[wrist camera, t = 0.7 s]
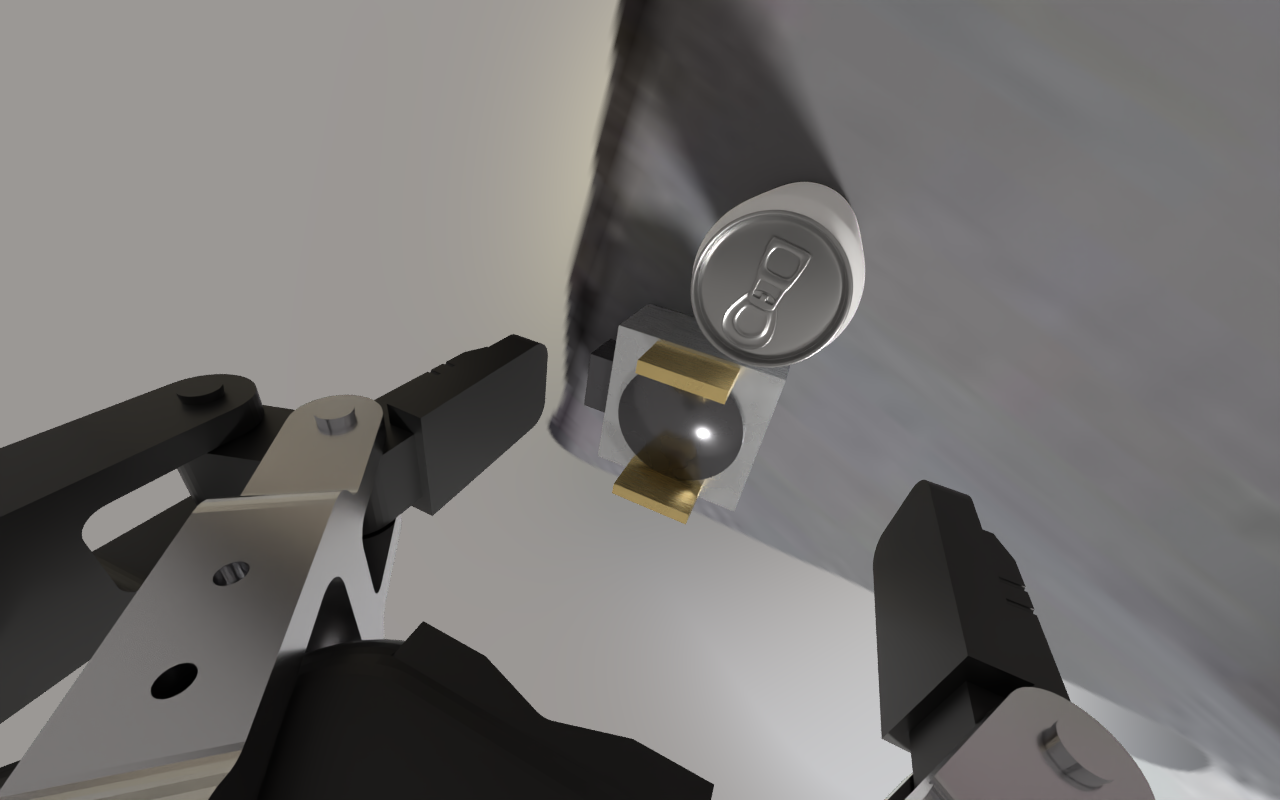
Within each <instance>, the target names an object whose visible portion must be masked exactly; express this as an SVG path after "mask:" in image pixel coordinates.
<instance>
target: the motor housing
mask: <svg viewBox="0 0 1280 800" xmlns="http://www.w3.org/2000/svg"><path fill="white" fill-rule="evenodd" d="M789 367H790V365H788V366H783V367H774V368H764V367H755V366H750V365H746V364H743V363H740V362H738V361H735V360H733V359H731V358H730V357H728V356H726V355H725V354H723V353H722V352H720V351H719V350H718V349H717V348H716V347H714V346H713V345H712V344H711V343H710V341H709V340H708V339H707V338H706V337H705V335H704V334H703V332H702V331H701V329H700V327H699V325H698V323H697V321H696V318H695V317H692V316H688V315H685V314H682V313H679V312H675V311H672V310H669V309H666V308H663V307H659V306H656V305H653V304H650V303H649V304H647V305H646V306H645V307H643V308H642V309H641V310H639V311H638V312H636V313H635V314H634V315H632V316H631V317H630V318H628V319H627V320H625V321H624V322H623V323H621V324H620V325H619V328H618V334H617V340H616V341H615V340H612V339H610V340H608V341H607V342H606V343H605V344H603V345H602V346H601V347H599V348H598V349H597V350H595V351H594V352H593V353H591V357H590V364H589V372H588V380H587V387H586V395H585V403H584V405H586V406H589V407H591V408H594V409H597V410H599V411H602V412H605V415H604V421H603V428H602V434H601V440H600V446H599V453H598V456H599V457H602V458H604V459H607V460H609V461H612V462H614V463H617V464H619V465H621V466H624V467H626V468H625V469H624V470H623V472H622V473H621V475H620V476H619V477H618V479H617V480H616V482H615V483H614V486H613V492H612V493H613V494H616V495H618V496H620V497H623V498H625V499H627V500H630V501H632V502H634V503H637V504H639V505H642V506H644V507H646V508H649V509H651V510H653V511H656V512H658V513H660V514H663V515H665V516H667V517H670V518H672V519H674V520H677V521H679V522H681V523H684V524H686V523H687V520H688V518H689V516H690V514H691V511H692V509H693V507H694V505H695V502H696V500H697V498H698V497H700V498H702V499H705V500H707V501H709V502H712V503H714V504H717V505H719V506H722V507H724V508H727V509H729V510H731V511H735V508H736V506H737V503H738V501H739V498H740V496H741V493H742V490H743V488H744V485H745V483H746V480H747V478H748V475H749V473H750V470H751V468H752V465H753V463H754V460H755V458H756V455H757V452H758V450H759V447H760V445H761V442H762V440H763V437H764V435H765V432H766V430H767V427H768V425H769V422H770V419H771V417H772V414H773V412H774V409H775V407H776V404H777V402H778V399H779V397H780V394H781V392H782V389H783V387H784V384H785V381H786V378H787V375H788V371H789Z"/></svg>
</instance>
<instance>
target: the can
mask: <svg viewBox="0 0 1280 800" xmlns="http://www.w3.org/2000/svg"><path fill="white" fill-rule="evenodd" d="M864 282H865V261H864V253H863V247H862V241H861V235H860V230H859V226H858V222H857V219H856V216H855V214H854V212H853V210H852V208H851V206H850V205H849V203H848V202H847V201H846V200H845V199H844V198H843V197H842V196H841V195H840V194H839V193H838V192H836V191H835V190H833V189H831V188H829V187H827V186H825V185H822V184H818V183H813V182H796V183H790V184H786V185H783V186H780V187H777V188H775V189H772V190H770V191H767V192H765V193H762V194H760V195H758V196H755V197H753V198H751V199H749V200H747V201H745V202H743V203H741V204H739V205H737V206H736V207H734V208H733V209H731V210H730V211H728V212H727V213H726V214H725V215H724V216H722V217H721V218H720V219H719V220H718V221H717V222H716V223H715V225H714V226H713V227H712V228H711V229H710V231H709V232H708V233H707V235H706V236H705V238H704V240H703V241H702V243H701V245H700V247H699V250H698V252H697V255H696V258H695V262H694V266H693V272H692V279H691V304H692V309H693V313H694V316H695V318H696V321H697V323H698V325H699V327H700V329H701V331H702V332H703V334H704V335H705V337H706V338H707V339H708V340H709V341H710V343H711V344H712V345H713V346H714V347H716V348H717V349H718V350H719V351H720V352H722V353H723V354H725V355H726V356H728V357H730V358H731V359H733V360H735V361H738V362H740V363H743V364H746V365H750V366H755V367H764V368H774V367H783V366H788V365H792V364H795V363H798V362H801V361H803V360H805V359H807V358H809V357H811V356H813V355H814V354H816V353H817V352H819V351H820V350H821V349H823V348H824V347H826V346H827V345H828V344H830V343H831V342H832V341H833V340H834V339H836V338H837V337H838V336H839V335H840V334H841V333H842V331H843V330H844V329H845V328H846V327H847V325H848V324H849V322H850V321H851V319H852V318H853V316H854V314H855V312H856V310H857V308H858V305H859V303H860V300H861V297H862V293H863V288H864Z"/></svg>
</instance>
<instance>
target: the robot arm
mask: <svg viewBox="0 0 1280 800" xmlns="http://www.w3.org/2000/svg"><path fill="white" fill-rule="evenodd" d="M547 358H548V353H547V348H546V347H545V345H543V344H541V343H538V342H535V341H532V340H530V339H527V338H524V337H521V336H518V335H514V334H513V335H510V336H508V337H506V338H504V339H502V340H500V341H499V342H497V343H495V344H493V345H491V346H490V347H484V348H480V349H476V350H472V351H468V352H464V353H462V354H460V355H458V356H456V357H454V358H453V359H451V360H449V361H447V362H446V364H441V365H439V366H438V367H436V368H434V369H432V370H431V372H430V373H429V372H427V373H424V374H423V375H421V376H419V377H417V378H415V379H413V380H411V381H409V382H407V383H406V384H404V385H402V386H400V387H398V388H396V389H394V390H392V391H391V392H389V393H387V394H385V395H383V396H381V397H380V398H377V399H376V400H372V399H370V398H367V397H363V396H356V395H336V396H329V397H324V398H321V399H317V400H314V401H311V402H309V403H306V404H304V405H302V406H300V407H299V408H298V409H296V410H292V409H285V408H279V407H272V406H266V405H262V403H261V400H260V397H259V394H258V391H257V388H256V386H255V384H254V382H252V381H251V380H249V379H247V378H245V377H242V376H237V375H228V374H214V375H204V376H197V377H193V378H188V379H184V380H181V381H178V382H175V383H172V384H169V385H166V386H164V387H161V388H159V389H156V390H153V391H151V392H148V393H145V394H143V395H140V396H137V397H135V398H132V399H129V400H127V401H124V402H122V403H119V404H116V405H114V406H111V407H108V408H106V409H103V410H100V411H98V412H95V413H92V414H90V415H87V416H85V417H82V418H79V419H76V420H74V421H71V422H69V423H66V424H63V425H61V426H58V427H55V428H53V429H50V430H47V431H45V432H42V433H39V434H37V435H34V436H32V437H29V438H26V439H24V440H21V441H19V442H16V443H13V444H10V445H8V446H5V447H3V448H0V724H1V723H2V722H4V721H5V720H6V719H8V718H9V717H11V716H12V715H13V714H15V713H16V712H18V711H19V710H20V709H22V708H23V707H25V706H26V705H27V704H29V703H30V702H32V701H33V700H34V699H36V698H37V697H38V696H40V695H41V694H43V693H44V692H46V691H47V690H48V689H50V688H51V687H52V686H54V685H55V684H57V683H58V682H59V681H61V680H62V679H64V678H65V677H67V676H68V675H69V674H71V673H72V672H73V671H75V670H76V669H77V668H79V667H81V666H82V665H83V664H85V663H86V662H87V661H89V660H90V661H89V662H88V664H87V665H86V667H85V668H84V669H83V671H82V673H81V674H80V675H79V677H78V678H77V680H76V681H75V683H74V684H73V685H72V687H71V688H70V690H69V691H68V693H67V694H66V695H65V697H64V698H63V700H62V701H61V703H60V704H59V706H58V707H57V709H56V710H55V711H54V713H53V714H52V716H51V717H50V719H49V720H48V721H47V723H46V725H45V726H44V727H43V729H42V730H41V732H40V733H39V735H38V736H37V737H36V739H35V740H34V742H33V743H32V745H31V746H30V747H29V749H28V750H27V752H26V753H25V755H24V756H23V758H22V759H21V760H20V761H17V762H14V763H12V764H9V765H6V766H4V767H1V768H0V800H711V797H712V792H713V787H714V784H712V783H710V782H708V781H707V780H705V779H703V778H701V777H699V776H698V775H696V774H694V773H692V772H690V771H689V770H687V769H685V768H683V767H682V766H680V765H678V764H676V763H675V762H673V761H671V760H669V759H667V758H666V757H664V756H662V755H660V754H659V753H657V752H655V751H653V750H651V749H649V748H648V747H646V746H644V745H642V744H641V743H639V742H637V741H635V740H634V739H630V738H626V737H621V736H617V735H613V734H608V733H603V732H599V731H595V730H590V729H586V728H582V727H577V726H573V725H568V724H564V723H559V722H554V721H551V720H548V719H546V718H544V717H543V716H541V715H540V714H539V713H538V712H536V710H535V709H534V708H533V707H532V706H531V705H530V704H529V703H528V702H527V701H526V700H525V698H524V697H523V696H522V695H521V694H520V693H519V692H518V691H517V690H516V689H515V688H514V686H513V685H512V684H511V683H510V682H509V681H508V680H507V679H506V678H505V677H504V676H503V675H502V674H501V672H500V671H499V670H498V669H497V668H496V667H495V666H494V665H493V664H492V663H491V662H490V661H489V660H488V658H487V657H486V656H484V655H482V654H480V653H479V652H477V651H475V650H473V649H471V648H470V647H468V646H466V645H465V644H462V643H461V642H459V641H457V640H456V639H454V638H452V637H450V636H449V635H447V634H445V633H443V632H441V631H440V630H438V629H436V628H434V627H432V626H431V625H429V624H427V623H425V622H422V623H421V624H420V625H419V626H418V628H417V629H416V630H415V631H414V632H413V633H412V634H411V635H410V636H409V638H408V639H407V640H406V641H402V640H388V639H384V610H385V603H386V598H387V593H388V589H389V584H390V579H391V574H392V569H393V564H394V559H395V554H396V550H397V545H398V540H399V535H400V530H401V525H402V520H401V513H403V512H404V511H405V510H406V509H407V508H409V507H410V506H413V507H416V508H417V509H419V510H421V511H424V512H426V513H427V514H430V515H432V516H433V515H434V514H435V513H436V512H437V511H438V510H440V509H441V508H442V507H443V506H444V505H445V504H446V503H448V502H449V501H450V500H451V499H452V498H453V497H454V496H456V495H457V494H458V493H459V492H460V491H461V490H462V489H463V488H465V487H466V486H467V485H468V484H469V483H470V482H471V481H473V480H474V479H475V478H476V477H477V476H478V475H479V474H481V473H482V472H483V471H484V470H485V469H486V468H487V467H488V466H490V465H491V464H492V463H493V462H494V461H495V460H496V459H497V458H499V457H500V456H501V455H502V454H503V453H504V452H505V451H507V450H508V449H509V448H510V447H511V446H512V445H513V444H514V443H516V442H517V441H518V440H519V439H520V438H521V437H522V436H523V435H525V434H526V433H527V432H528V431H529V430H530V429H532V428H533V426H535V424H536V423H537V422H538V420H539V418H540V416H541V414H542V412H543V408H544V404H545V391H546V375H547ZM175 469H178V471H179V473H180V475H181V477H182V479H183V481H184V483H185V485H186V487H187V489H188V490H189V493H190V495H191V496H190V497H188V498H186V499H184V500H182V501H181V502H179V503H177V504H176V505H174V506H172V507H170V508H168V509H167V510H165V511H163V512H161V513H160V514H158V515H156V516H154V517H153V518H151V519H150V520H147V521H146V522H144V523H142V524H140V525H138V526H137V527H135V528H133V529H131V530H130V531H128V532H126V533H124V534H123V535H121V536H119V537H117V538H116V539H114V540H112V541H110V542H109V543H107V544H105V545H103V546H102V547H100V548H98V549H97V550H94V551H93V552H91V550H90V549H89V548H88V546H87V545H86V544H85V542H84V541H83V539H82V529H83V526H84V524H85V522H86V521H87V520H88V519H89V517H90V516H91V515H92V514H93V513H94V512H96V511H97V510H98V509H100V508H101V507H103V506H105V505H107V504H108V503H110V502H112V501H114V500H116V499H118V498H120V497H122V496H124V495H126V494H128V493H130V492H132V491H134V490H136V489H138V488H140V487H141V486H144V485H146V484H147V483H149V482H151V481H153V480H155V479H157V478H159V477H161V476H163V475H165V474H167V473H169V472H171V471H173V470H175ZM873 574H874V594H875V613H876V634H877V652H878V673H879V693H880V711H881V731H882V739H884V740H886V741H888V742H890V743H892V744H894V745H896V746H898V747H900V748H902V749H904V750H906V751H908V752H910V753H911V757H912V768H913V773H911V774H910V775H909V776H908V777H906V778H905V779H904V780H903V781H902V782H901V783H900V784H899V785H898V786H897V787H896V788H895V789H894V790H893V791H892V792H891V793H890V794H889V795H888V796H887V797H886V798H885V799H884V800H1155V798H1154V795H1153V793H1152V790H1151V788H1150V786H1149V783H1148V782H1147V780H1146V778H1145V776H1144V775H1143V773H1142V771H1141V770H1140V768H1139V767H1138V765H1137V764H1136V762H1135V761H1134V760H1133V758H1132V757H1131V756H1130V754H1129V753H1128V752H1127V751H1126V750H1125V748H1124V747H1123V746H1122V745H1121V744H1120V743H1119V742H1118V741H1117V739H1116V738H1115V737H1114V736H1113V735H1112V734H1111V733H1110V732H1109V731H1108V730H1106V728H1104V727H1103V726H1102V725H1101V724H1100V723H1099V722H1098V721H1097V720H1095V719H1094V718H1093V717H1092V716H1090V715H1089V714H1088V713H1087V712H1085V711H1084V710H1082V709H1081V708H1079V707H1078V706H1077V705H1075V704H1073V703H1072V702H1071V701H1070V699H1069V696H1068V694H1067V691H1066V689H1065V686H1064V683H1063V681H1062V678H1061V676H1060V673H1059V671H1058V668H1057V666H1056V663H1055V661H1054V658H1053V655H1052V653H1051V650H1050V648H1049V645H1048V643H1047V640H1046V638H1045V635H1044V633H1043V630H1042V628H1041V625H1040V622H1039V620H1038V617H1037V615H1034V614H1033V611H1034V607H1033V605H1032V602H1031V600H1030V597H1029V595H1028V592H1025V591H1024V589H1025V584H1024V582H1023V579H1022V577H1021V574H1020V572H1019V569H1018V567H1017V564H1016V562H1015V560H1014V559H1013V557H1012V556H1011V555H1010V554H1009V552H1008V551H1007V550H1006V549H1005V547H1004V546H1003V545H1002V544H1001V543H1000V541H999V540H998V539H997V538H996V536H995V535H994V534H993V533H990V532H988V531H985V530H982V527H981V524H980V521H979V518H978V515H977V513H976V510H975V507H974V504H973V501H972V499H971V497H970V496H968V495H966V494H963V493H961V492H958V491H955V490H952V489H949V488H946V487H944V486H941V485H938V484H935V483H932V482H929V481H927V480H921V481H919V482H918V483H917V484H916V485H915V486H914V487H913V489H912V490H911V492H910V493H909V495H908V496H907V498H906V499H905V501H904V502H903V504H902V505H901V507H900V508H899V510H898V511H897V513H896V514H895V516H894V517H893V519H892V520H891V522H890V523H889V525H888V526H887V528H886V529H885V531H884V532H883V534H882V535H881V537H880V539H879V542H878V544H877V547H876V550H875V554H874V560H873Z"/></svg>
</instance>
